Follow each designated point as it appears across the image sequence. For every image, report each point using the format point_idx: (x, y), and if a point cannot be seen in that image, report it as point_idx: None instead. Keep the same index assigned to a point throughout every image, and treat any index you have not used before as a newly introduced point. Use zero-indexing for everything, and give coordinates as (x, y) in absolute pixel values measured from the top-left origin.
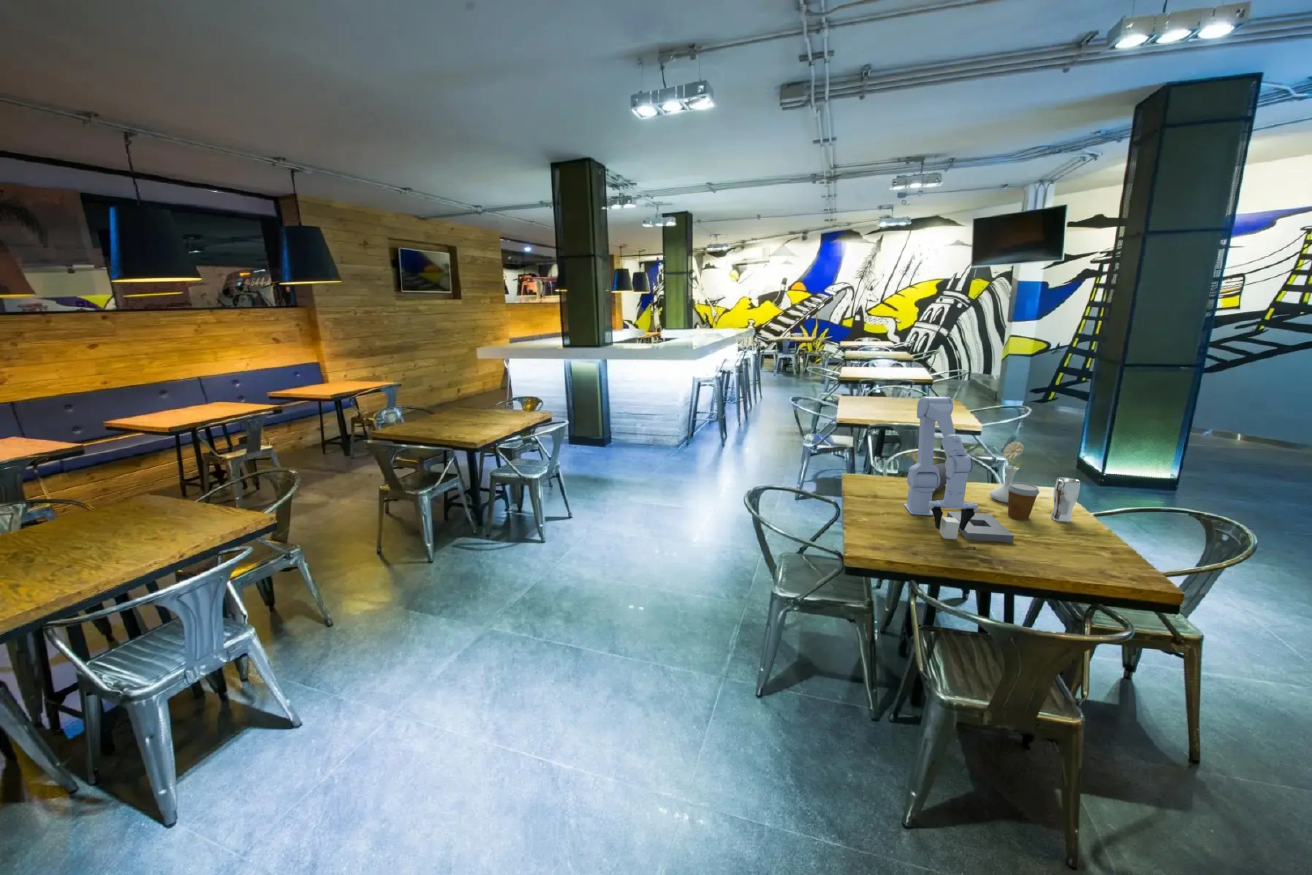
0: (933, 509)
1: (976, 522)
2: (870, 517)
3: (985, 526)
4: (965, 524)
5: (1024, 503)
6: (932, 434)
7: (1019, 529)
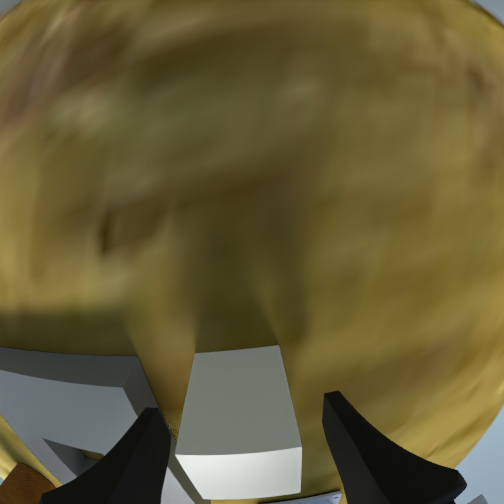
0: (452, 501)
1: None
2: (483, 408)
3: (60, 443)
4: (127, 441)
5: (6, 495)
6: None
7: (8, 429)
